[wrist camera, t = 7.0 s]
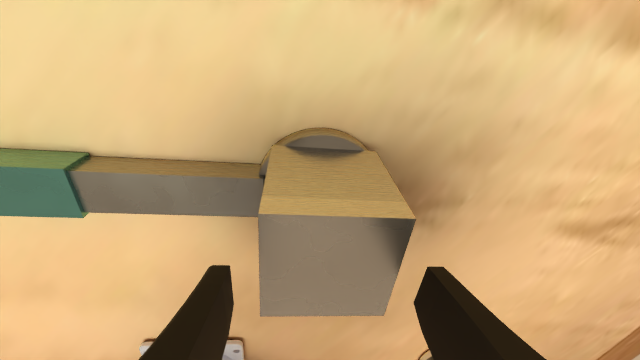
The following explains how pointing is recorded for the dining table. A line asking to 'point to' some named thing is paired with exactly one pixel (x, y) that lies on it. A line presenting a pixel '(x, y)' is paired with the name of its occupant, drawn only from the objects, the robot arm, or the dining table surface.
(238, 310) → the dining table surface
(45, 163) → the ratchet
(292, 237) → the grey block
